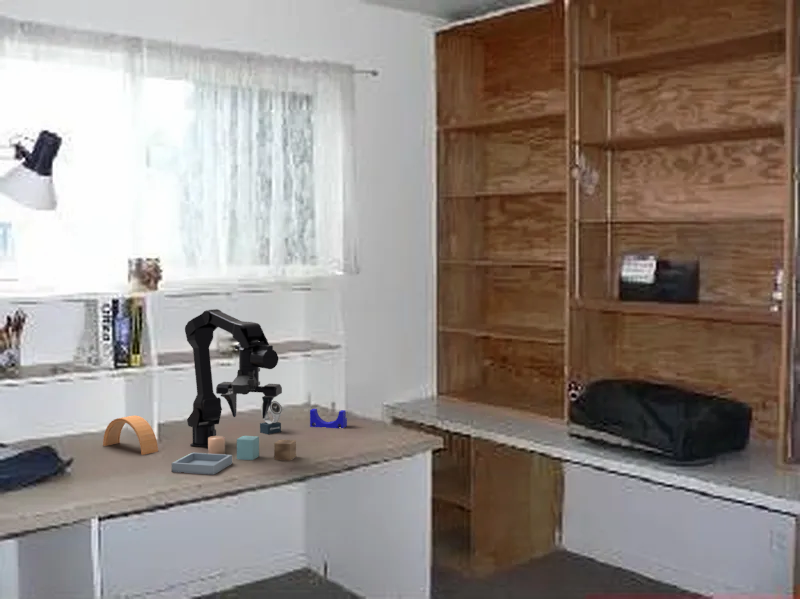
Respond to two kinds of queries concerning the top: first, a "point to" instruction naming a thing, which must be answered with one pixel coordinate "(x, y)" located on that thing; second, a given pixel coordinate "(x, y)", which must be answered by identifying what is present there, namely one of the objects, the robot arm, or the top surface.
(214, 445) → the terracotta cylinder
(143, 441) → the arch
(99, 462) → the top surface
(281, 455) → the walnut cube
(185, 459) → the tray
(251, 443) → the teal block
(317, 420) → the cable clip
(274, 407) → the watch
